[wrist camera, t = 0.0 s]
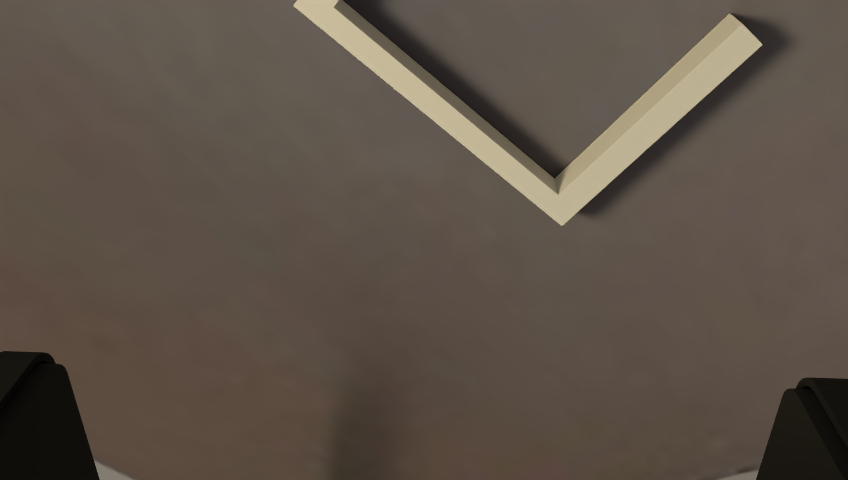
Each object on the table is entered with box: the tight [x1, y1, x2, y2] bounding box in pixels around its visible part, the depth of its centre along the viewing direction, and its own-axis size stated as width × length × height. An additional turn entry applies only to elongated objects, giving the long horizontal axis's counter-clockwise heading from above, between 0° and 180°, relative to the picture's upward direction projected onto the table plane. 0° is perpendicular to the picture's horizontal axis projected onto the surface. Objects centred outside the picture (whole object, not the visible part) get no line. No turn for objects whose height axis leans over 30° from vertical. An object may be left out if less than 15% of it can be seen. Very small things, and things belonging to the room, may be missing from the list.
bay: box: [293, 0, 763, 226], centre depth 37 cm, size 13×18×2 cm
